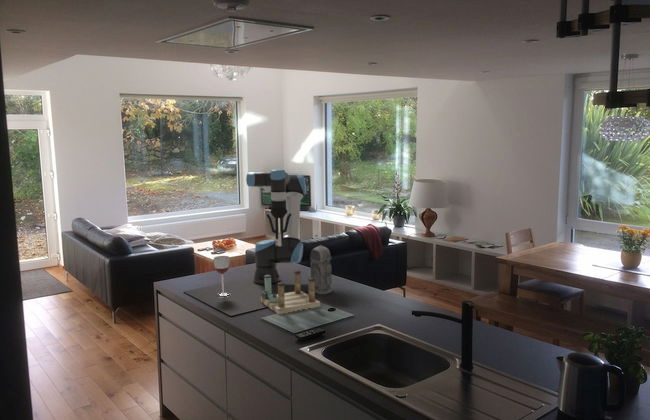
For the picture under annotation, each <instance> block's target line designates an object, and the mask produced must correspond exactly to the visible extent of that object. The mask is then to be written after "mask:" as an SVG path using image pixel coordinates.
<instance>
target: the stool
mask: <svg viewBox="0 0 650 420" xmlns="http://www.w3.org/2000/svg"><path fill="white" fill-rule="evenodd" d="M293 274H294V291H289V292H285V283H284V282H277V294H273V297H277V296H278V302H276V303H273V302H270V299H269V298H266V293H265V290H262V291H261V297H260V302H261V304H263V305H265V306H266V307H267V308H269V309H271V311H272V312H274V313H275V314H277V315H283V313H284V314H289V313H294V312H293V311H295V312H298V311H297V310H300V311H303V310H302V309H306V310H309V309H308V308H311V309H315V308H316V307H317V308H321V301H319V300H318V299H316V298H315V297H316V293H315V278H311V277H309V278H307V281H308V287H307V289H308V293H305V292H304V291H302V289H301V287H302V286H301V283H302V282H301V281H302V280H301V270H294V272H293ZM288 312H289V313H288Z"/></svg>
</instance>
